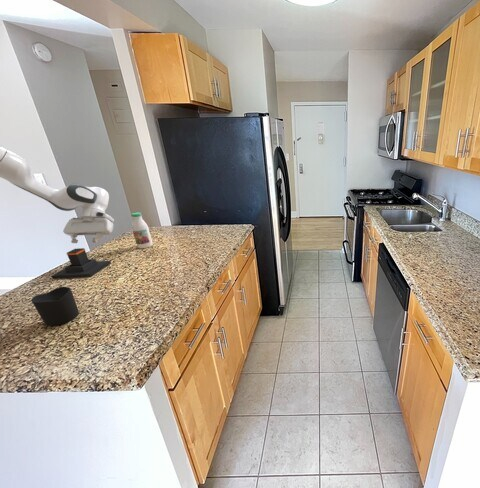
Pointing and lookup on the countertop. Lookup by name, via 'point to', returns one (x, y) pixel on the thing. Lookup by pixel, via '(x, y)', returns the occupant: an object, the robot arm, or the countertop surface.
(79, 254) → the black orange block
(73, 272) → the connector base
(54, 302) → the pen holder
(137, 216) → the milk bottle
